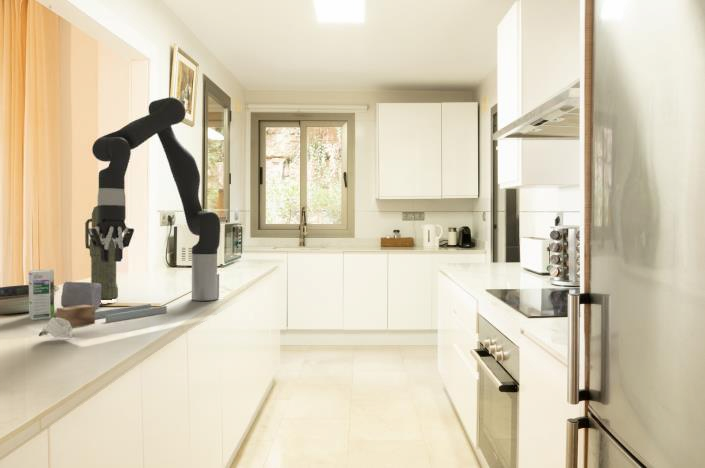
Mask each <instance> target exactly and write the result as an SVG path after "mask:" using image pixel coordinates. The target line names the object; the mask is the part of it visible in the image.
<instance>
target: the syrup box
mask: <svg viewBox="0 0 705 468" xmlns="http://www.w3.org/2000/svg"><path fill="white" fill-rule="evenodd" d="M28 318H29V319H30V320H31V321H37V320H47V319H49V320H50V319H51V318H55V272H54V270H53V269H39V270H38V269H35V270H34V269H33V270H31V269H30V270H29V271H28Z"/></svg>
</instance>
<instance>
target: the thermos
mask: <svg viewBox="0 0 705 468" xmlns="http://www.w3.org/2000/svg"><path fill="white" fill-rule="evenodd" d="M90 223H91V228H94V227H96V226H97V224H98V205H96V206H94V207H93V209H92V212H91V218H89V219H87V220H86V221H85V224H84V225H85V228H84V229H85V230H84V232H85V235H84V236H85V237H84V238H85V239H84V240H85V241H84V242H85V245H84V246H85V249H88V250H89V257H90V258H91V259H90V264H91V265H90V266H91V267H90V270H91V271H90V272H91V273H90V274H91V275H90V277H91V278H90V279H91V280H90V283H99V284H101V300H112V299H116V298H117V299H118V297H119V287H118V283H117V262H116V261H115V249H116V248H115V244H114V242H113V239H112V238H111V241H110V242H109V246H108V249H107V250H109V262H102V260H101V250H100V249H99V248H97V247H94V245H93V243H92V240H91V238H89V237H90V235H89V233H88V229H89V225H90ZM98 235H99V238H101V233H100V232H99V233H98ZM105 239H106V238H105Z"/></svg>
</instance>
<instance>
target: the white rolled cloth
mask: <svg viewBox="0 0 705 468" xmlns="http://www.w3.org/2000/svg"><path fill="white" fill-rule="evenodd" d="M48 334H49V335H51V337H53V338H57V337H60V338H64V339H65V338H66V339H67V338H71V337H72V335H73V327H71V325H70V323H69V321H67V320H65V319H62V318H57V317H54V318H50V319H49V321H48V322H47V323H46V325H43V328H42V329H41V331H40V333H39V334H38V337H42V336H47V335H48Z"/></svg>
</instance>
